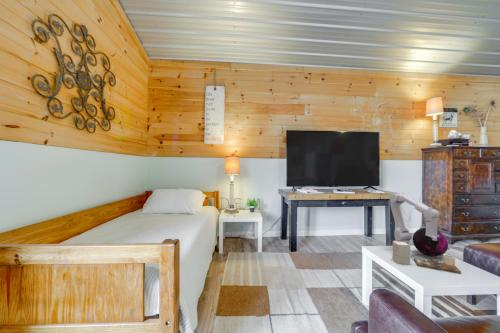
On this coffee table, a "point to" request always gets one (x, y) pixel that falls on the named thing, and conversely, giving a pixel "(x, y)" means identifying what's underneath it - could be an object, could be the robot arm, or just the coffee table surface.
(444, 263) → the sleeve
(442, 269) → the pin board
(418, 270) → the coffee table surface
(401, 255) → the supplement box
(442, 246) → the decorative sphere
